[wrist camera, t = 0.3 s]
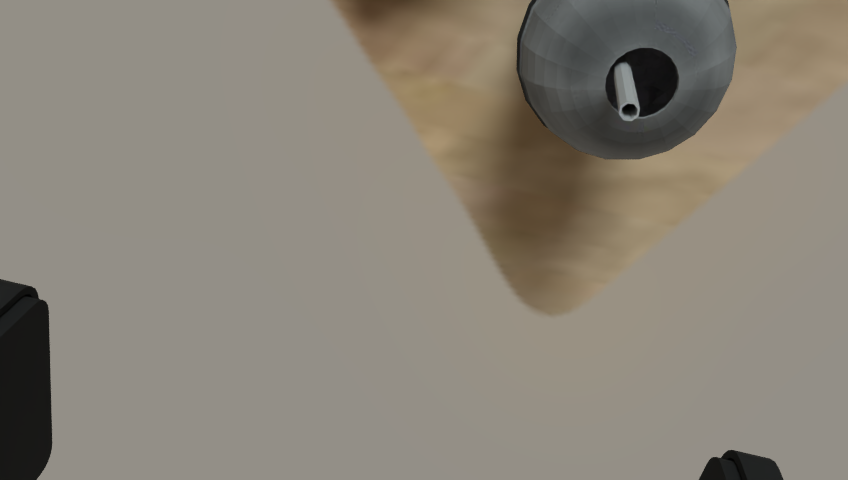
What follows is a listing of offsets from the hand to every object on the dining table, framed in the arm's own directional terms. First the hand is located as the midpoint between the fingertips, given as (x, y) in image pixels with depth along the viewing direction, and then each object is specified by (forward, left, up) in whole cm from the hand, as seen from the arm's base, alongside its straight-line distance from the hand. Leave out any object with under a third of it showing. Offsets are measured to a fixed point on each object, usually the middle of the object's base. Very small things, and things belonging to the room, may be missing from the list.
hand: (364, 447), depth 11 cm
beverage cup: (-6, +2, -30) cm, 31 cm away
